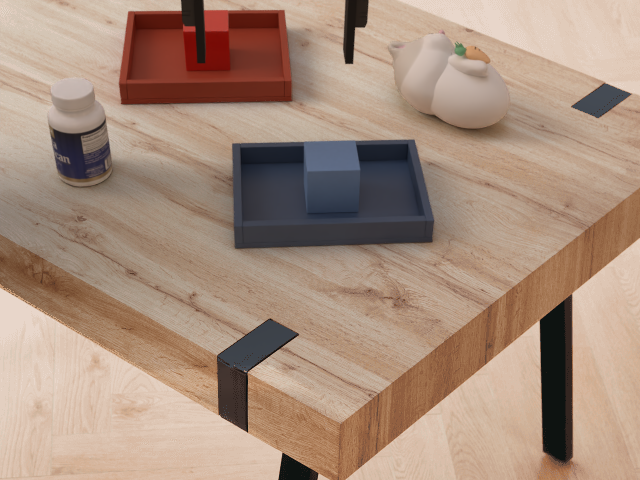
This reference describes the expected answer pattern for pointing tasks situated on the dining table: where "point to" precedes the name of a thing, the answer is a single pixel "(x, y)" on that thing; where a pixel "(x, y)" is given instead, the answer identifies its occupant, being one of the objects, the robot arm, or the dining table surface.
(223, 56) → the red cube
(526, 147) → the dining table surface
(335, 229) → the blue tray
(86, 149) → the pill bottle
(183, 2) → the robot arm
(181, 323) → the dining table surface
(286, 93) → the red tray
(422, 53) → the animal figurine with carrot
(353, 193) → the blue cube
